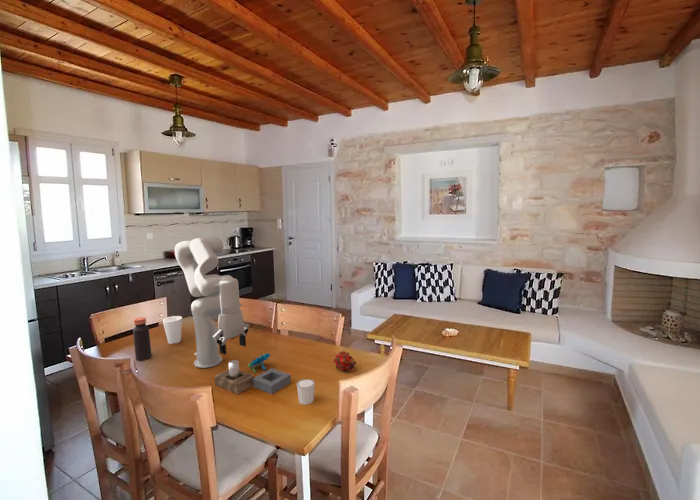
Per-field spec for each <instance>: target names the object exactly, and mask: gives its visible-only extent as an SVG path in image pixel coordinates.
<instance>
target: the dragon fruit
mask: <svg viewBox="0 0 700 500" xmlns="http://www.w3.org/2000/svg"><path fill="white" fill-rule="evenodd" d="M333 363H335V367H336V368H335V369H337V370H339V369H340V370H341V371H342V372H343V373H349V371H353V370H354V368H355V367H354V366H356V364H357V361H355V360H354V357H353V356H352V355H350V352H346V351H345V350H342V351H339V352H338V353H337V354H336V355H335V358H333ZM348 370H349V371H348Z"/></svg>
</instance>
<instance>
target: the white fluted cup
mask: <svg viewBox="0 0 700 500" xmlns="http://www.w3.org/2000/svg"><path fill="white" fill-rule="evenodd" d="M315 384H316V383H315V380H313V379H308V378H307V379H301V380H299V381H297V382H296V388H297V395H298V396H297V397H298V403H299V404H300V405H303V406H304V405H305V406H306V405H311V404H312V403H313V402H314V400H315V388H316V387H315Z"/></svg>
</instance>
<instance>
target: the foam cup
mask: <svg viewBox="0 0 700 500" xmlns="http://www.w3.org/2000/svg"><path fill="white" fill-rule="evenodd" d="M162 324H163V327H164V332H165V336H166V338H167V339H166V340H167V344H170V345H174V343H175V344H178V343H180V342H181V340H182V326H183V317H182V316H181V315H172V316H168V317H167V316H166V317H165V318H163V320H162Z"/></svg>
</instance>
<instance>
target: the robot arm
mask: <svg viewBox="0 0 700 500" xmlns="http://www.w3.org/2000/svg"><path fill="white" fill-rule="evenodd" d="M223 251H224V243H223V241H222V239H221V238H220V237H218V236H204V237H202V236H201V237H196V238H193V239H192V240H191V239H190V240H184V241H180V242H178V243H177V244H176V245H175V246H174V256H175V259H176V261H177V263H178V265H179V267H180V268H181V269H182V271H183V273H184V277H185V281H186V284H187V288H188V290H189V293H190V295H191V296H192V297H194V298H197V299H195V300H194V301H192V303H191V305H190V310H191V315H192V317H193V324H194V333H195V345H196V352H194V356H196V359H195V360H194V361H193V365H194V367H196V368H198V369H209V368H214V367H216V366H218V365H220V364H221V363H222V362H223V357H222V356H221V355H227V344H226V342H227V340H228V339H231V338H235V337H236V336H238V338H239V339H238V340H239V342H238V343H239V346H240V347H241V346H242V347H246V346H247V345H246V343H247V339H246V337H247V334H248V332H249V328H250V323H246V322H245V320H244V315H243V312H242V309H241V307H242V306H243V305H242V303H240V302H241V301H240V291H239V280H238V279H237V278H234V277H233V276H231V275H229V274H226V275H225V274H224V275H219V274H217V273H216V274H208V273H210V272H211V271H213V270H214V269H215V268H216V267H217V266H218V264H219V258H218V256H217V255H220V254H222V253H223ZM216 316H218V318H217V319H218V320H217V324H216V322H215V321H214V320H212V318H213V317H216ZM217 330H218V332H217ZM220 354H221V355H220Z"/></svg>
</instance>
